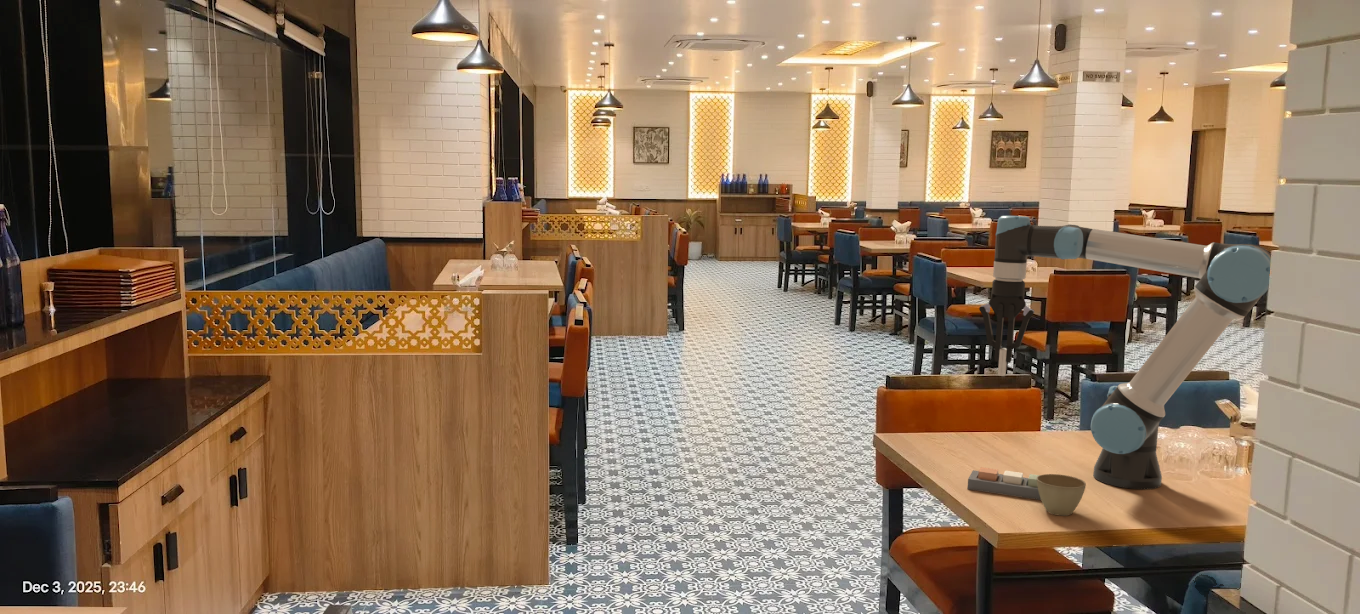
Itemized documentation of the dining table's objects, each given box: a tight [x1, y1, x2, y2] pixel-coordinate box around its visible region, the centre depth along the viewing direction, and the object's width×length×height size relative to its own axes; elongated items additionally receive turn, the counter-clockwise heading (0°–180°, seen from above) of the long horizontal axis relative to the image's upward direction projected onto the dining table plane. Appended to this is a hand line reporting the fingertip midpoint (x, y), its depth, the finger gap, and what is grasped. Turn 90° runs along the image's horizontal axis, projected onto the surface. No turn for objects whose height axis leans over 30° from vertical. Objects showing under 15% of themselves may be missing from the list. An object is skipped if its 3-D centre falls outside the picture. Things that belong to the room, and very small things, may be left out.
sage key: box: [1027, 473, 1040, 487], centre depth 224 cm, size 4×4×2 cm
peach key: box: [978, 466, 999, 481], centre depth 229 cm, size 4×4×2 cm
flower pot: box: [1037, 473, 1087, 517], centre depth 212 cm, size 10×10×7 cm
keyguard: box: [967, 469, 1042, 501], centre depth 227 cm, size 19×8×2 cm, turn 66°
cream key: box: [1003, 470, 1024, 485], centre depth 227 cm, size 4×4×2 cm
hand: (1001, 374), depth 240 cm, fingers closed
